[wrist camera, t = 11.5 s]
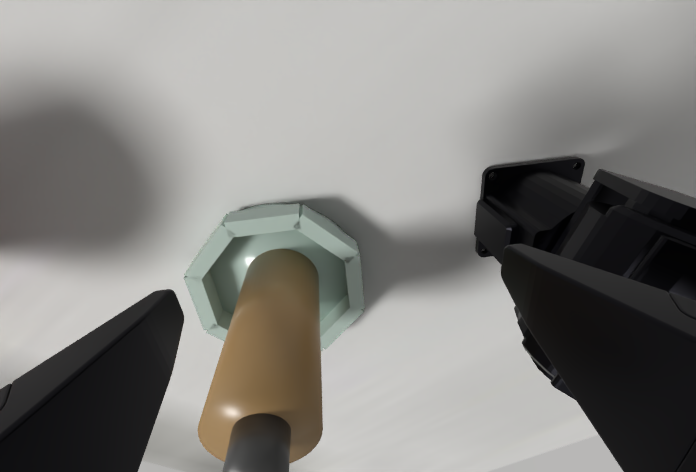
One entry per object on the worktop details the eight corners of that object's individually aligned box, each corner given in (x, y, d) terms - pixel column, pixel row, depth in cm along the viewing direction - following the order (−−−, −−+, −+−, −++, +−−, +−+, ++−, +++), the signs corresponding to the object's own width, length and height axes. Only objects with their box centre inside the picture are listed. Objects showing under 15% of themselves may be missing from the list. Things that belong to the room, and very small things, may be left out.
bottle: (313, 244, 23) (313, 433, 11) (323, 303, 25) (331, 510, 14) (238, 253, 23) (159, 455, 11) (254, 312, 25) (204, 530, 13)
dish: (351, 193, 22) (355, 206, 20) (364, 324, 27) (368, 344, 25) (178, 214, 22) (165, 230, 20) (224, 342, 27) (217, 365, 25)
